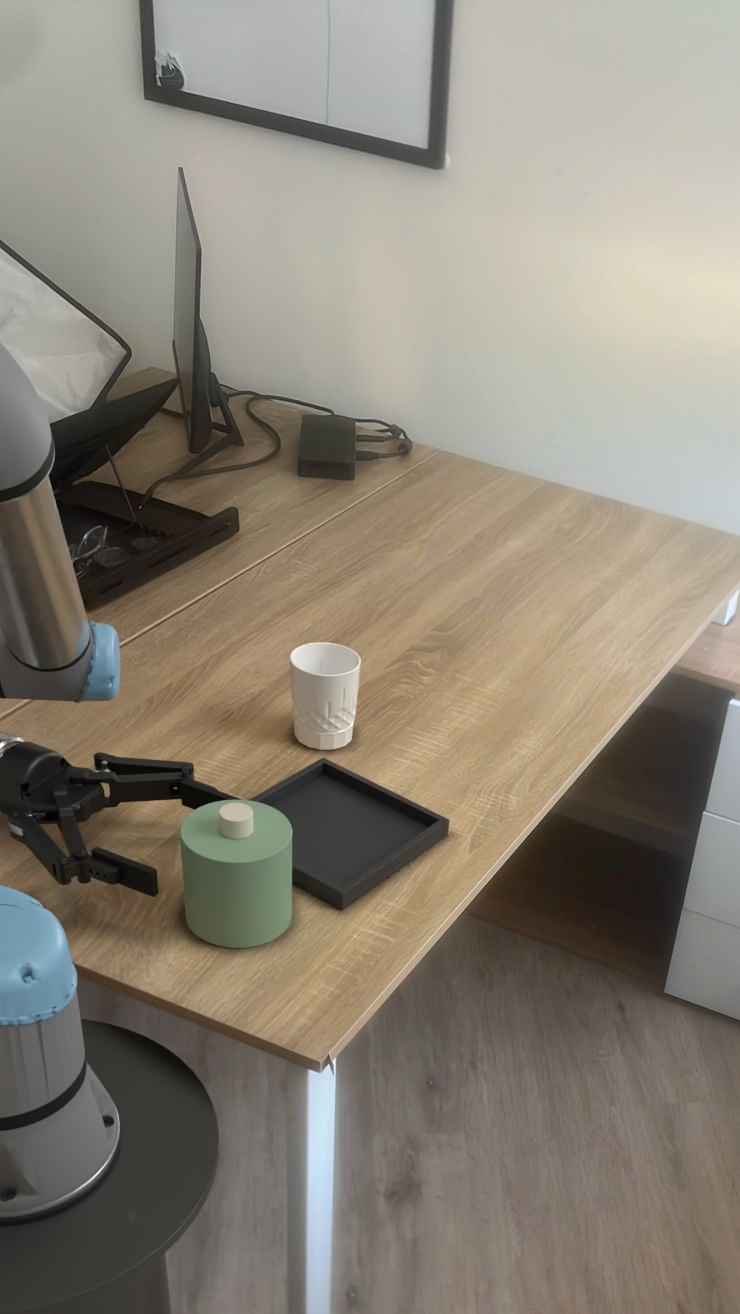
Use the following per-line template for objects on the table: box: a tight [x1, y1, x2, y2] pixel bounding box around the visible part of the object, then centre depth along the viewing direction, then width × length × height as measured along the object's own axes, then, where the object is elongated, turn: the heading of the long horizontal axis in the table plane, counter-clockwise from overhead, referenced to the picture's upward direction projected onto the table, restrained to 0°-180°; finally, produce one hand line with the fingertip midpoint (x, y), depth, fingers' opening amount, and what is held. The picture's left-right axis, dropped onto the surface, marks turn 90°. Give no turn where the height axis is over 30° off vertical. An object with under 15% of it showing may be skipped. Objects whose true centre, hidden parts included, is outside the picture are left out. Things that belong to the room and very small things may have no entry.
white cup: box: [289, 641, 362, 751], centre depth 146 cm, size 8×8×10 cm
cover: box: [179, 799, 293, 949], centre depth 119 cm, size 10×10×12 cm
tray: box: [248, 757, 450, 911], centre depth 134 cm, size 18×18×2 cm
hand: (199, 846), depth 119 cm, fingers open, 13 cm apart
